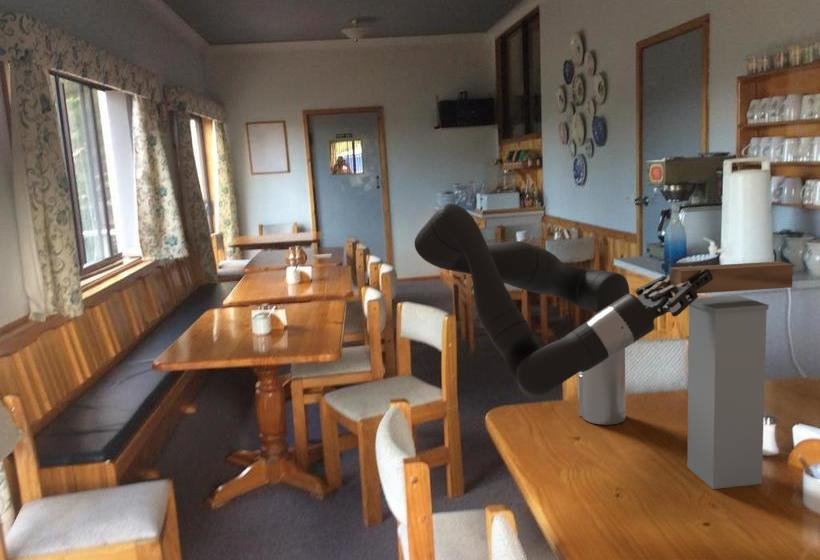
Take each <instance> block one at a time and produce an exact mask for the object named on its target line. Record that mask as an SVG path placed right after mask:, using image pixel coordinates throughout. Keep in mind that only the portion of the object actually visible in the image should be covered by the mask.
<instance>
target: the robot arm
mask: <svg viewBox="0 0 820 560" xmlns="http://www.w3.org/2000/svg"><path fill="white" fill-rule="evenodd" d="M414 249H415V251H416V252H417V254H418V255H419V256H420V257H421V259H423V260H424V261H425V262H427V263H428V264H431V265H432V266H434V267H437V268H440V269H443V270H448V271H452V272H456V273H457V272H458V273H463V274H468V275H471V280H472V288H473V297H474V305H475V311H476V314H477V318H478V319H479V322H480V324H481V325H482V327H483V329H484V330H485V332H486V334H487V335H488V336H487V337H489V339H490V341H491V343H492V344H493V345H494V347H495V349H496V350H497V351H498V352H499V354H500V355H501V356H502V357H503V359H504V362H505V364H506V365H507V367H508V370H509V371H510V373H511V375H512V377H513V379H514V381H515V382H516V384H517V385H518V387H519V390H520V391H521V392H522V394H523V395H524V396H525V397H526V398H528V399H530V400H532V401H534V402H535V401H536V402H545V401H549V399H551V398H553V396H554V395H555V394H557V391H558V389H559V386H560V385H561V384H563V383H564V382H566V381H568V380H569V379H570V378H572V377H573V376H575V375H577V374H578V373H581V374H579V375H578V416H579V417H582V418H583V420H585V421H586V422H588V423H592V424H597V425H603V426H604V425H608V426H610V425H618V424H620V423H622V422H625V420H626V349H627V348H628V347H630V346H631V345H633V344H634V343H636V342H637V341H640V339H643V338H644V337H645V336H646V335H648V334H649V333H651V332H653V331H654V330H655V319H657V318H660V317H661V316H663V315H666V314H668V313H670V314H671V316H672V317H677V316H678V315H680V314H681V313H682V312H683V311H685V310H686V309H687V308H689V305H690V304H691V303H692V302H693V301H694V300H695V299H696V298H699V295H698V293H696V290H698V289H699V288H701V287H702V286H704V285H705V284H707V283H708V282H710V281H711V280H712V279H713V276H712V274H711V273H710V271H709V270H708V269H703V270H701V271H700V272H698V273H697V274H695V275H694V276H692V277H691V278H689V279H688V280H686V281H684V282H682V283H680V284H678V285H674V284H672V285H670V275H668V276H667V275H662V276H659V277H658V278H656V279H654V280H652V281H649V282H648V283H645V284H643V285H642V286H640V287H638V288H636V289H634V292H635V294H636V296H635V295H634V294H633V293H630V286H629V283H628V280H627V278H626V277H625V276H624V275H623V274H621V273H619V272H614V271H608V270H607V271H606V270H602V269H601V270H600V269H593V268H592V269H590V268H583V267H578V266H574V265H570V264H567V263H564V262H563V261H561V260H560V259H559V258H558V257H557V256H556V255H555V254H554V253H552V252H551V251H548V250H547V249H544V248H541V247H540V246H536V245H535V244H531V243H529V242H525V241H517V240H516V241H505V242H497V243H492V244H488V243H487V241H486V239H485V237H484V236H483V233H482V231H481V229H480V227H479V224H478V222H476V220H475V218H474V217H473V216H472V214H471V213H470V212H468V210H466V209H465V208H464V207H462V206H461V205H458V204H455V203H445V204H443V205H442V206H441V207H440V208H439V209H437V211H436V212H435V213H434V214H433V215H432V216H431V218H430V219H429V220H428V221H427V222H426V223H425V224H424V226H423V227H422V228H421V229H420V230H419V232H417V234H416V236H415V239H414ZM691 266H695V265H694V264H690V265H688V266H687V267H691ZM506 284H507V285H508V286H510V287H513V288H516V289H520V290H524V291H526V292H531V293H535V294H540V295H547V296H554V297H557V298H560V299H562V300H564V301H566V302H568V303H571V304H573V305H574V306H577V307H578V308H581V309H583V310H585V311H589V312H593V313H595V314H594V315H593V316H591V317H590V318H589V319H588V320H587V321H586V322H584V323H582V324H581V325H579V326H578V327H576V328H575V329H573V330H572V331H570V332H569V333H568V334H566V335H565V336H564V337H561V338H560V339H557V340H555V341H553V342H551V343H549V344H546V345H544V346H542V347H540V345H539V344H538V342H537V341H536V338H535V336H534V333H533V331H532V329H531V326H530V325H529V323H528V321H527V320H526V318H525V317H524V315H523V314H522V312H521V310H520V309H519V308H518V306H517V304H516V303H515V301H514V299H513V298H512V296H511V294H510V293H509V291H508V289H507V287H506ZM680 289H681V290H680ZM679 290H680V291H679ZM672 291H673V292H672Z"/></svg>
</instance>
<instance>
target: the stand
mask: <svg viewBox="0 0 820 560" xmlns="http://www.w3.org/2000/svg"><path fill="white" fill-rule="evenodd" d="M767 311H769V304H767V303H764V302H761V301H758V300H755V299H751V298H748V297H745V296H742V295H738V294H735V295H733V294H731V295H721V296H708V297H707V296H705V297H698V298H696V299H695V300H694V301H693V302H692V303H691V304H690V305H689V306H688V355H687V356H688V362H687V365H688V366H687V367H688V370H687V371H688V373H687V380H688V381H687V382H688V383H687V384H688V385H687V386H688V387H687V461H686V462H687V463H686V465H687V469H689V471H691V472H692V473H693V474H694V475H695V476H697V477H698V478H699V479H700V480H702V482H704V483H706V484H707V486H709V487H710V489H713V490H718V489H726V488H728V489H729V488H735V487H746V486H747V487H748V486H754V485H762V484H763V455H764V454H763V453H764V451H763V448H764V419H765V418H764V417H765V416H764V412H765V387H766V386H765V385H766V384H765V383H766V382H765V381H766V378H765V377H766V375H765V374H766V349H767V348H766V346H767V345H766V343H767V341H766V340H767V314H768V313H767Z"/></svg>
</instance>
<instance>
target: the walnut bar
mask: <svg viewBox="0 0 820 560" xmlns="http://www.w3.org/2000/svg"><path fill="white" fill-rule="evenodd" d="M703 269H708V270H709V271H710V273H711V274H712V276H713V279H712V280H711V281H710V282H708V283H707V284H705V285H704V286H702V287H701V288H699V289H698V290H696V293H697V294H711V293H723V292H724V293H725V292H738V291H739V292H741V291H759V290H773V289H788V288H789V289H791V288H793V273H794V272H793V270H794V264H793V263H788V262H783V261H778V260H777V261H763V262H762V261H761V262H746V263H745V262H744V263H728V264H727V263H726V264H714V265H712V264H711V265H709V264H708V265H694V266H691V267H688V266H678V267H677V266H676V267H674V266H673V267H669V276H670V285H672V284H674V285H678V284H680V283H682V282H684V281H686V280H688V279H689V278H691V277H692V276H694V275H695V274H697V273H698V272H700V271H701V270H703ZM680 290H681V289H680ZM680 290H679V291H680ZM672 292H673V291H672Z"/></svg>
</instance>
